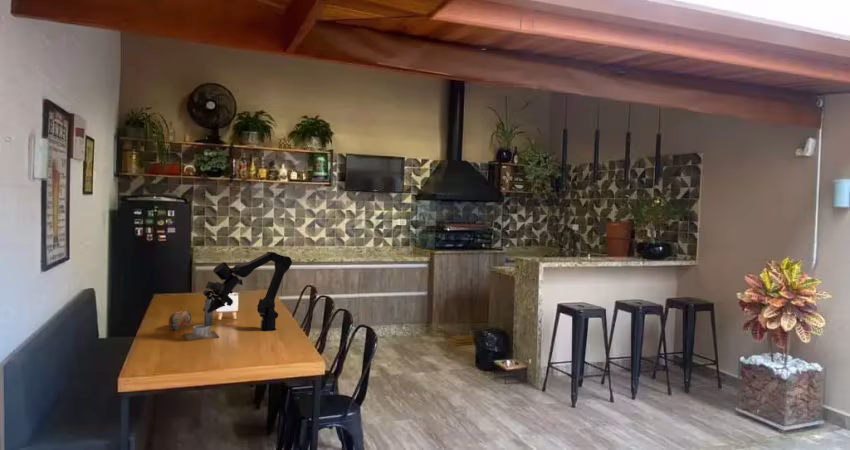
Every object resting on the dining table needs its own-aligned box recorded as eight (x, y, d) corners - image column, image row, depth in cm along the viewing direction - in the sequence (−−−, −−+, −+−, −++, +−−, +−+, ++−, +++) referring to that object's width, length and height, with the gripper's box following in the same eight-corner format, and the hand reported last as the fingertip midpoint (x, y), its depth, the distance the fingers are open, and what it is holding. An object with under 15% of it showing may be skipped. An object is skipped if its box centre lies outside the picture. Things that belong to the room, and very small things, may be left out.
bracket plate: (214, 332, 276) (214, 330, 276) (218, 337, 265) (218, 336, 265) (183, 335, 269) (183, 333, 269) (187, 340, 258) (187, 338, 258)
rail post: (212, 324, 263) (213, 298, 263) (212, 326, 260) (212, 299, 259) (204, 324, 262) (205, 298, 262) (203, 326, 259) (204, 299, 258)
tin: (172, 331, 276) (173, 314, 276) (167, 330, 276) (167, 314, 276) (191, 325, 291) (191, 309, 290) (186, 324, 291) (186, 308, 291)
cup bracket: (208, 332, 272) (208, 324, 272) (210, 335, 266) (210, 327, 266) (191, 333, 268) (192, 325, 268) (194, 337, 262) (194, 328, 262)
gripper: (207, 273, 269) (184, 298, 261) (227, 277, 257) (204, 303, 249) (221, 287, 275) (200, 312, 267) (242, 292, 263) (220, 318, 255)
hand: (205, 311), depth 260 cm, fingers closed on rail post, 4 cm apart
